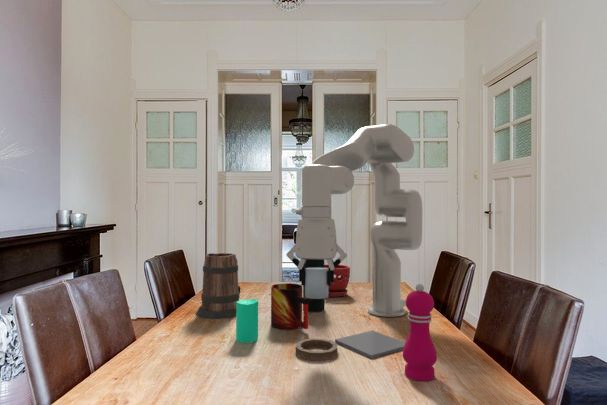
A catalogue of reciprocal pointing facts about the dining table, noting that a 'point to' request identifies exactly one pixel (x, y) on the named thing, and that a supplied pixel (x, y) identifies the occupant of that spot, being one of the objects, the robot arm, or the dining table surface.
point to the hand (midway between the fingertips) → (316, 284)
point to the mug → (288, 307)
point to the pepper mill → (419, 337)
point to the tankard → (219, 287)
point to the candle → (247, 320)
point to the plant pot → (339, 281)
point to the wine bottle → (313, 304)
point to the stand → (316, 354)
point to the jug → (316, 283)
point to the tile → (371, 344)
